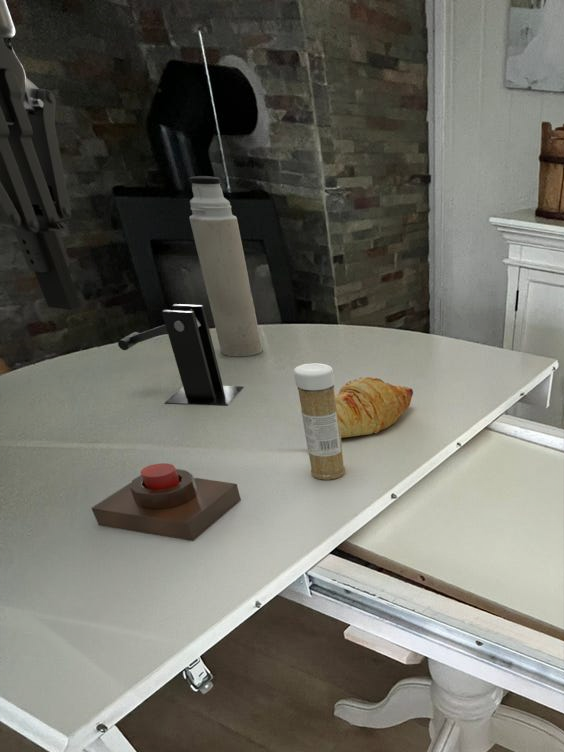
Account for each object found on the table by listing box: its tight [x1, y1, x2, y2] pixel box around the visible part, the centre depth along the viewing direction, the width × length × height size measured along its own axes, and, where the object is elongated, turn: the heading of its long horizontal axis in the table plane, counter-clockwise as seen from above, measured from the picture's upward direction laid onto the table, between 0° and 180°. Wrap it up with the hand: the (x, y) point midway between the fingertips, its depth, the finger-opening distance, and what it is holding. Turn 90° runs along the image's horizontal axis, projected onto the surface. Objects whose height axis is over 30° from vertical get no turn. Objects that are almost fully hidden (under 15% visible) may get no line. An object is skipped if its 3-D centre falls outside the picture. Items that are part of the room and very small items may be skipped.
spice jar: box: [293, 363, 346, 481], centre depth 74 cm, size 5×5×13 cm
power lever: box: [117, 309, 201, 351], centre depth 90 cm, size 12×5×2 cm, turn 91°
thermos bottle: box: [189, 175, 263, 358], centre depth 110 cm, size 8×8×28 cm
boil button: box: [140, 462, 180, 490], centre depth 66 cm, size 4×4×2 cm
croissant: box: [334, 377, 414, 439], centre depth 90 cm, size 21×10×8 cm, turn 144°
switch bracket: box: [161, 303, 245, 407], centre depth 93 cm, size 10×9×14 cm
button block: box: [91, 468, 242, 542], centre depth 68 cm, size 12×10×4 cm
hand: (64, 306), depth 60 cm, fingers closed
